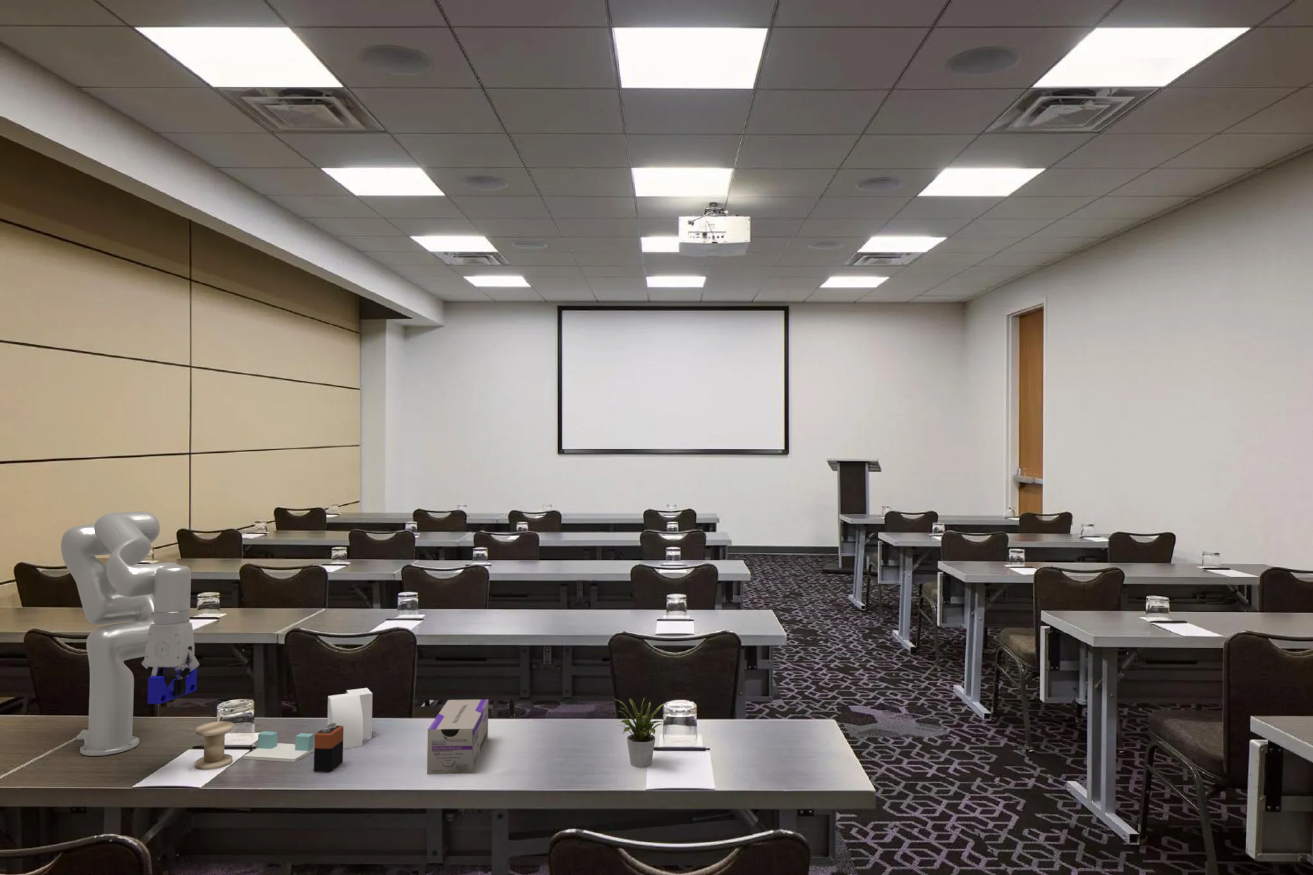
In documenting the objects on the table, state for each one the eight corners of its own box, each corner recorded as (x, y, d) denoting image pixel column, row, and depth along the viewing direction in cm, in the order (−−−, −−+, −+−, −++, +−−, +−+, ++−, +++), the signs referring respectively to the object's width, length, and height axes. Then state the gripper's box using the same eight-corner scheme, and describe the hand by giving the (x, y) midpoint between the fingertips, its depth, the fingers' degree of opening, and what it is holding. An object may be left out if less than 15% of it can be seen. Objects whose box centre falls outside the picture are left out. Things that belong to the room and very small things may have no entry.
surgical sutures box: (472, 774, 192) (473, 728, 193) (427, 775, 192) (427, 729, 192) (487, 739, 217) (488, 699, 218) (447, 740, 216) (448, 699, 217)
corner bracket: (366, 731, 223) (366, 687, 223) (375, 743, 213) (376, 697, 214) (324, 738, 217) (325, 693, 218) (332, 750, 208) (333, 703, 208)
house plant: (597, 769, 195) (597, 700, 196) (620, 750, 208) (620, 686, 209) (651, 777, 190) (652, 706, 191) (672, 758, 203) (672, 692, 203)
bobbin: (187, 768, 195) (188, 730, 195) (210, 757, 202) (211, 720, 203) (217, 770, 193) (218, 732, 194) (239, 758, 201) (240, 722, 202)
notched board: (243, 759, 201) (243, 741, 201) (268, 745, 211) (268, 728, 211) (295, 762, 199) (295, 744, 199) (317, 748, 209) (318, 731, 209)
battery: (312, 772, 192) (313, 729, 193) (326, 762, 199) (327, 721, 200) (330, 772, 192) (331, 730, 193) (343, 762, 199) (344, 721, 199)
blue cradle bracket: (180, 689, 200) (181, 664, 200) (196, 690, 199) (197, 665, 200) (141, 703, 188) (142, 677, 188) (158, 704, 187) (159, 678, 188)
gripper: (127, 619, 192) (125, 697, 191) (192, 621, 189) (190, 700, 189) (151, 614, 199) (149, 689, 198) (214, 616, 197) (212, 692, 196)
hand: (169, 693), depth 194 cm, fingers closed on blue cradle bracket, 4 cm apart
